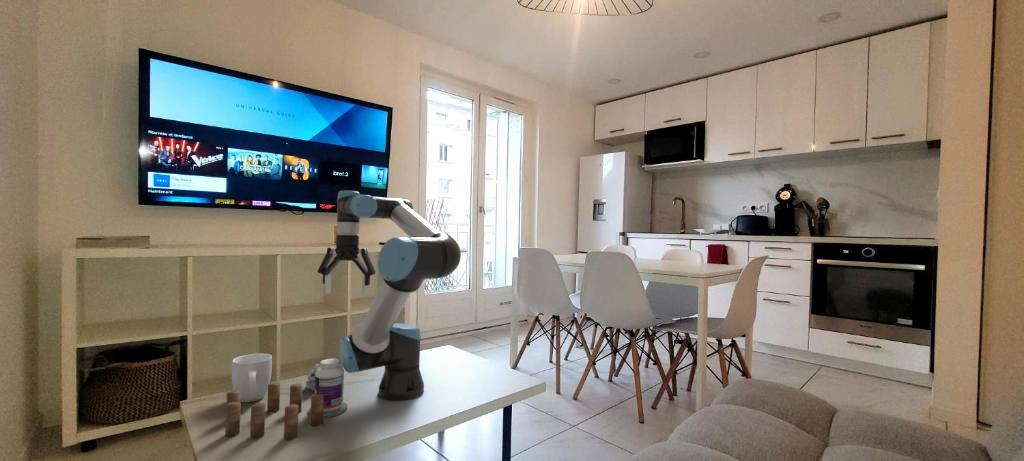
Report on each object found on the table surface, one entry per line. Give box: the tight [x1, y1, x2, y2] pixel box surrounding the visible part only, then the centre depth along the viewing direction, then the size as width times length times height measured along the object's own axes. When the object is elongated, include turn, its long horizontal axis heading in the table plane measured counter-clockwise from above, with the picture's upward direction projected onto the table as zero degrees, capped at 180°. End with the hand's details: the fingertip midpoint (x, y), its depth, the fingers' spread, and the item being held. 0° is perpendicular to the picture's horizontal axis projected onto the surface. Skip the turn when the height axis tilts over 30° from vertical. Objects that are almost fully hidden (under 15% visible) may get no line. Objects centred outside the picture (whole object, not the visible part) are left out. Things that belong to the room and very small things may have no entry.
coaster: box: [307, 401, 349, 419], centre depth 125 cm, size 11×11×1 cm
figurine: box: [305, 363, 321, 392], centre depth 143 cm, size 8×10×12 cm
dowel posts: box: [224, 381, 324, 441], centre depth 115 cm, size 28×18×8 cm, turn 86°
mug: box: [231, 352, 273, 403], centre depth 130 cm, size 15×11×13 cm
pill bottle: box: [314, 357, 345, 412], centre depth 125 cm, size 8×8×14 cm
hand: (345, 294), depth 144 cm, fingers open, 13 cm apart
